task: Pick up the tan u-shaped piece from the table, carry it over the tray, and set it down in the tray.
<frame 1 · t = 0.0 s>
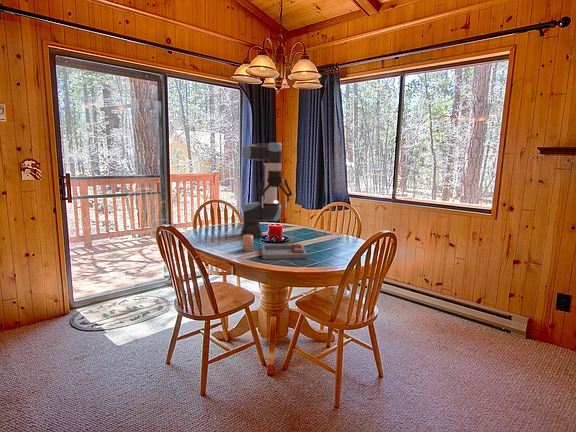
hand: (274, 207, 210), 28 cm above the table, fingers open, 13 cm apart
tray: (283, 254, 214), on the table
tan u-shaped piece: (248, 250, 222), on the table
cube a: (296, 250, 220), point 1 cm above the table, touching tray
cube b: (298, 255, 210), point 1 cm above the table, touching tray
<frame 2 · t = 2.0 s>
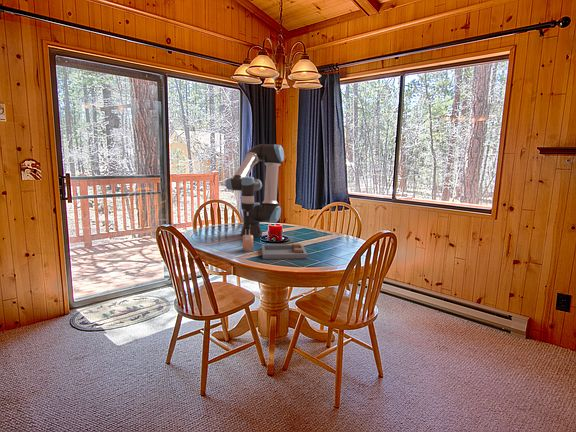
hand: (247, 237, 220), 8 cm above the table, fingers open, 13 cm apart
nothing on the table moved.
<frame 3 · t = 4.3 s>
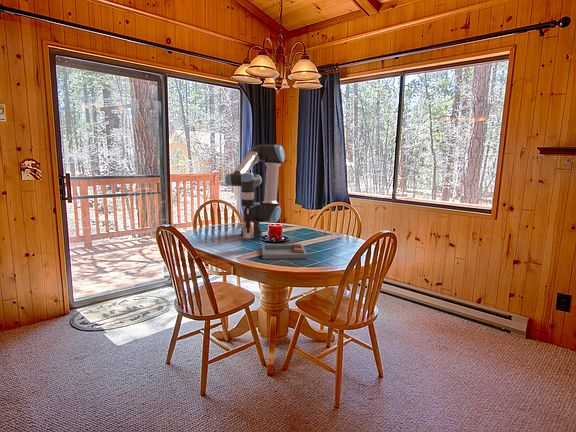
hand: (248, 236, 221), 9 cm above the table, fingers closed on tan u-shaped piece, 6 cm apart
tan u-shaped piece: (248, 237, 221), point 8 cm above the table, touching gripper
everything else where it was.
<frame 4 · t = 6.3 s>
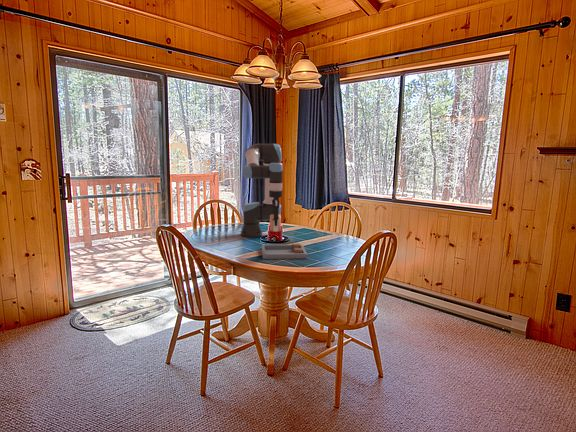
hand: (275, 229, 211), 15 cm above the table, fingers closed on tan u-shaped piece, 6 cm apart
tan u-shaped piece: (275, 230, 211), point 14 cm above the table, touching gripper
everything else where it was.
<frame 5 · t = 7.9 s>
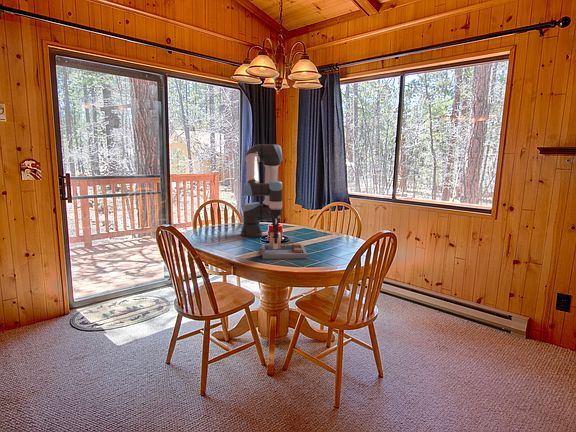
hand: (275, 247, 213), 4 cm above the table, fingers closed on tan u-shaped piece, 6 cm apart
tan u-shaped piece: (275, 247, 213), point 4 cm above the table, touching gripper
everything else where it was.
when the fingers open (2 cm above the table, at t = 8.8 s): tan u-shaped piece stays where it is, resting on tray.
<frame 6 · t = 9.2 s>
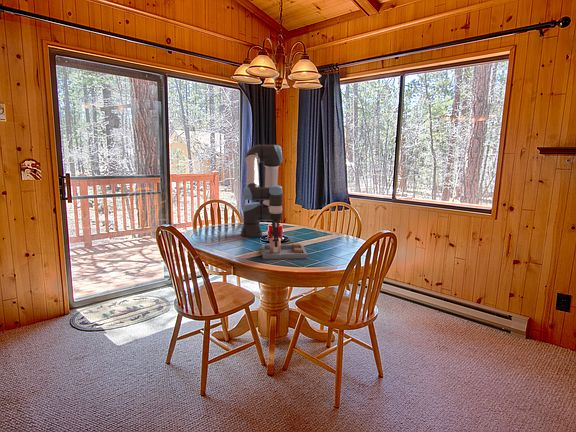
hand: (275, 249, 213), 3 cm above the table, fingers open, 11 cm apart
tan u-shaped piece: (275, 253, 214), point 1 cm above the table, touching tray
everything else where it was.
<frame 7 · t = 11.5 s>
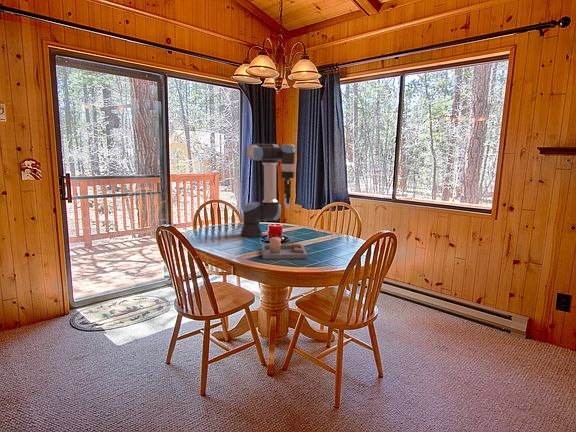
hand: (286, 206, 216), 27 cm above the table, fingers open, 13 cm apart
nothing on the table moved.
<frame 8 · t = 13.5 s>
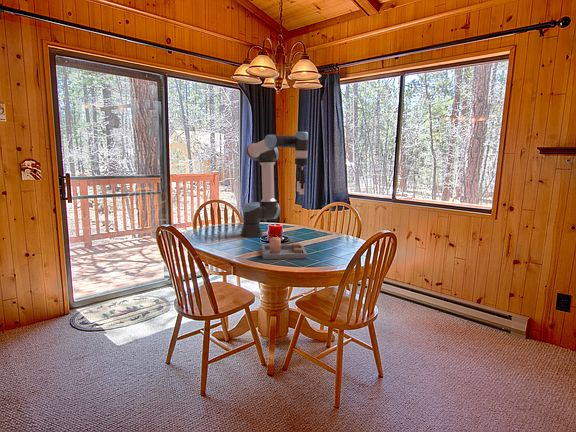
hand: (300, 193, 223), 35 cm above the table, fingers open, 13 cm apart
nothing on the table moved.
at the end: tan u-shaped piece inside the target area on the tray (5.0 cm from its centre), point 0.6 cm above the tray's base; the gripper is holding nothing; cube a moved 0.0 cm from its start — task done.
